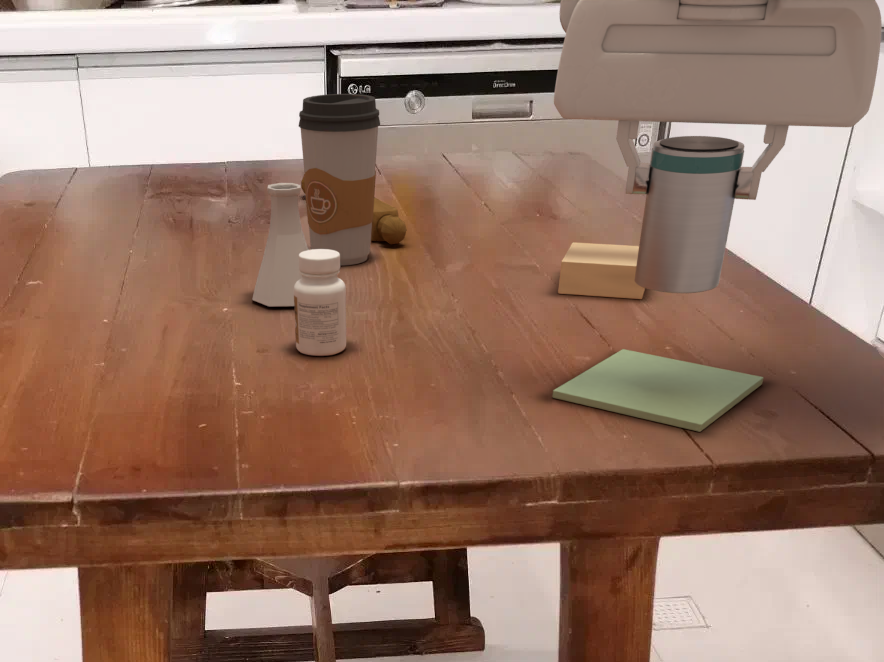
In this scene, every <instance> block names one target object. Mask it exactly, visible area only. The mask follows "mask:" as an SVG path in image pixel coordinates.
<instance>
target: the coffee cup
mask: <svg viewBox="0 0 884 662" xmlns="http://www.w3.org/2000/svg"><path fill="white" fill-rule="evenodd" d="M298 115H299V121H298V127H299V128H300V137H301V139H300V140H301V149H302V163H303V176H304V184H305V193H304V194H305V206H306V216H307V224H308V232H309V245H310V250H312V249H329V250H334V251H337V252H339V254H340V266H351V265H357V264H362V263H364V262H366V261H367V260H368V255H369V254H371V242H372V241H371V229H372V222H373V210H374V197H375V194H376V179H377V171H376V165H377V149H378V134H379V126H381V120H380V109H378V108H377V102H376V97H375V96H373V95H368V94H357V93H331V94H319V95H312V96H308V97H305V98H303V99H302V110H300V111H299V114H298Z"/></svg>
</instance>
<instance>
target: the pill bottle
mask: <svg viewBox="0 0 884 662" xmlns="http://www.w3.org/2000/svg"><path fill="white" fill-rule="evenodd" d="M340 272H341V265H340V254H339V252H337V251H334V250H329V249H312V250H311V249H309V250H307V251H303V252H301V253H300V254H299V274H301V276H302V278H301V279H299V280H298V281H297V282H296V283H295V285H294V306H293V307H294V330H295V331H294V333H295V334H294V335H295V348H296V349H297V351H298V352H300V353H301V354H303V355H306V356H307V355H308V356H314V357H316V356H317V357H324V356H333V355H336V354H339V353H341V352H343V351H344V350H345V349H346V347H347V287H346V283H345V281H343V279H341V278H339V277H338V275H339V274H340Z"/></svg>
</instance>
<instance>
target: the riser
mask: <svg viewBox="0 0 884 662" xmlns="http://www.w3.org/2000/svg"><path fill="white" fill-rule="evenodd" d="M638 251H639V245H625V244H610V243H609V244H607V243H591V242H590V243H589V242H575V241H574V242H572V243H571V244H570V245H569V248H568V249H567V251H566V253H565V254H564V256H563V258H562V259H561V262H560V271H559V281H558V288H557V289H558V290H557V294H561V295H574V296H588V297H602V298H618V299H629V300H631V299H632V300H642V299H643V297H644V294H645V292H646V288H643V287H641V286H639V285H638V284H636V283H635V272H636V265H637V258H638Z"/></svg>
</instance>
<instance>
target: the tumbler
mask: <svg viewBox="0 0 884 662" xmlns="http://www.w3.org/2000/svg"><path fill="white" fill-rule="evenodd" d="M652 146H653V147H652V148H651V155H650V160H649V163H650V165H651V168H650V175H649V180H648V188H647V194H645V202H644V208H643V209H644V210H643V217H642V222H641V223H642V224H641V231H640V237H639V245H638V246H639V251H638V258H637V265H636V272H635V283H636V284H638V285H639V286H641V287H643V288H645V290H646V289H647V290H650V291H654V292H660V293H668V294H697V293H705V292H709V291H711V290H714V289H716V288H717V287H718V286H719V284H720V280H721V274H722V269H723V264H724V259H725V252H726V247H727V242H728V236H729V232H730V227H731V226H730V225H731V220H732V216H733V210H734V205H735V200H736V199H734V196H735V190H736V187H737V184H738V183H737V180H738V175H739V170H740V168H741V167H743V162H744V161H743V160H744V155H745V144H744V143H743V142H741V141H738V140H734V139H732V138H727V137H721V136H709V135H683V136H682V135H681V136H672V137H667V138H663V139H659V140H656V141H655V142H653V145H652Z"/></svg>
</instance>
